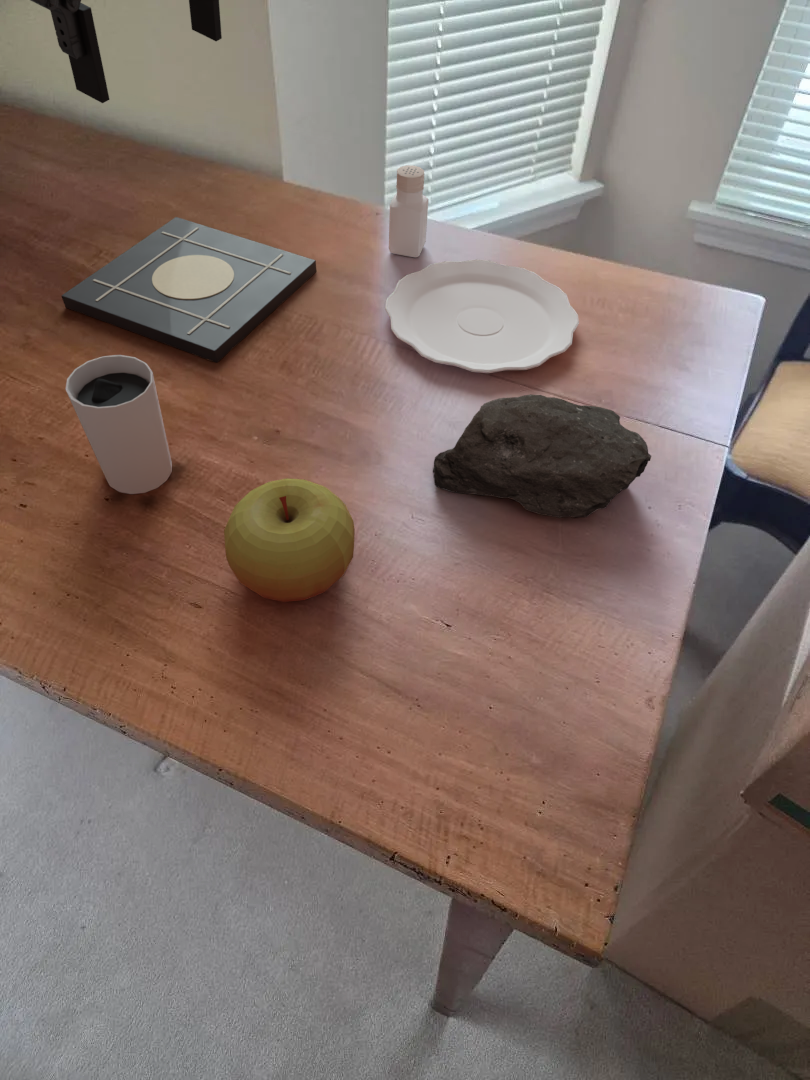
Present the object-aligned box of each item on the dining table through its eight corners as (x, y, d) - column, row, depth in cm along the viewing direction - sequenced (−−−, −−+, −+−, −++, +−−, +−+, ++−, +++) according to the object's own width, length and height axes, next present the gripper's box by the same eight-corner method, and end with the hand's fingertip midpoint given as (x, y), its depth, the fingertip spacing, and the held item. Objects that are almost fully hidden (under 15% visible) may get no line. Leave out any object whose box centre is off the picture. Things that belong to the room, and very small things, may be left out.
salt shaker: (426, 244, 94) (431, 166, 86) (418, 260, 91) (423, 181, 84) (395, 238, 94) (398, 161, 87) (387, 254, 92) (389, 176, 84)
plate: (421, 257, 92) (422, 244, 90) (589, 295, 88) (593, 282, 87) (358, 354, 79) (358, 341, 78) (552, 403, 75) (555, 390, 74)
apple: (288, 506, 65) (280, 438, 59) (379, 559, 62) (380, 493, 55) (207, 579, 60) (188, 512, 53) (301, 642, 56) (293, 578, 50)
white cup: (91, 496, 65) (54, 406, 57) (111, 443, 69) (79, 353, 61) (168, 499, 65) (142, 409, 57) (184, 446, 69) (161, 356, 61)
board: (65, 307, 82) (60, 294, 81) (178, 228, 94) (175, 215, 93) (217, 363, 77) (214, 350, 76) (316, 271, 89) (316, 259, 87)
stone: (437, 516, 61) (448, 392, 59) (427, 492, 70) (436, 383, 67) (652, 528, 63) (672, 408, 60) (617, 504, 71) (634, 397, 69)
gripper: (-28, -261, 38) (75, 144, 56) (276, -319, 50) (280, 28, 68) (-134, -306, 39) (0, 103, 57) (188, -352, 52) (215, -4, 70)
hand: (153, 63), depth 63 cm, fingers open, 13 cm apart
